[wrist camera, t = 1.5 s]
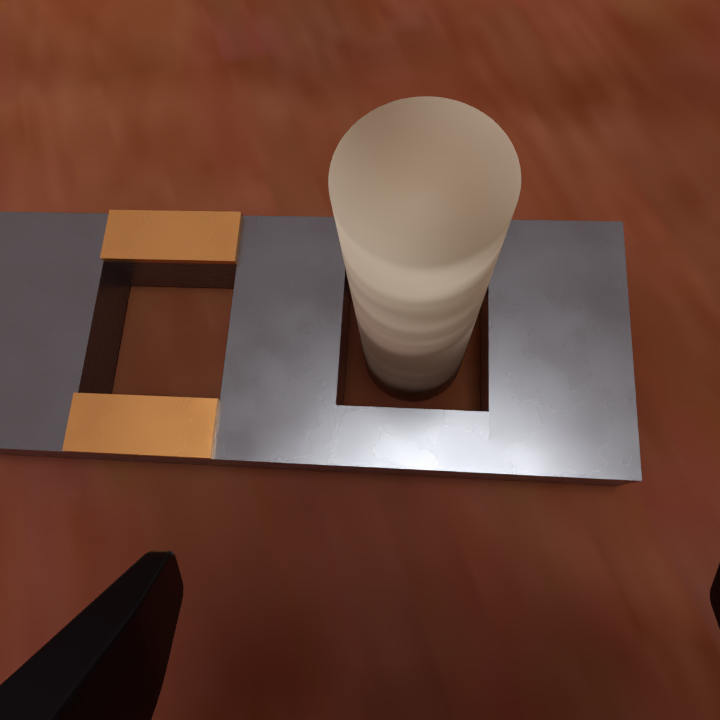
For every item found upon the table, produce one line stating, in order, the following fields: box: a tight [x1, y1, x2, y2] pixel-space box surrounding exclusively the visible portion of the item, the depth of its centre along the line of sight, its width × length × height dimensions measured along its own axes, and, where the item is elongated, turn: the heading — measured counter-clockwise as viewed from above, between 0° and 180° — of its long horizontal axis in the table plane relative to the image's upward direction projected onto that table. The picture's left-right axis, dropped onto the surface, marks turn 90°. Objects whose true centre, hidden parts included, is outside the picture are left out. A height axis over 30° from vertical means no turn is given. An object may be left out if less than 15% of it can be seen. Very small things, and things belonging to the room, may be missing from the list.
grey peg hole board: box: [0, 210, 642, 486], centre depth 24 cm, size 26×10×3 cm, turn 87°
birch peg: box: [328, 96, 521, 402], centre depth 18 cm, size 4×4×13 cm
